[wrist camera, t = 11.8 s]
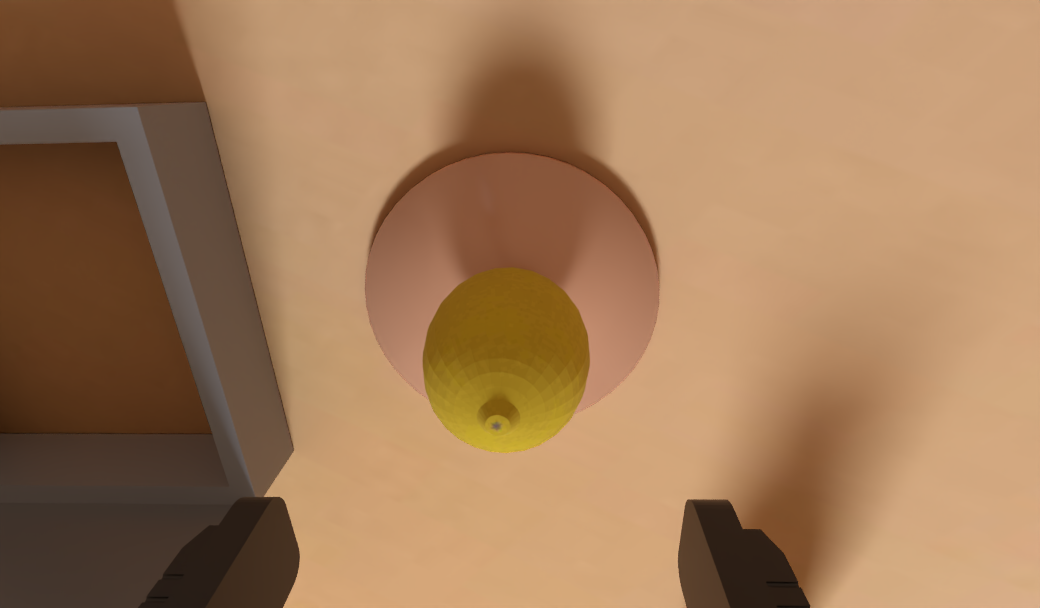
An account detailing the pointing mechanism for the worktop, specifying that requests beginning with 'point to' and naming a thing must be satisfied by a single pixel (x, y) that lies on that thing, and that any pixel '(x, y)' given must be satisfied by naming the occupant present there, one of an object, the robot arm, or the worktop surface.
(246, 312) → the case
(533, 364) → the lemon
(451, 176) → the saucer
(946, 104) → the worktop surface
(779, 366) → the worktop surface
